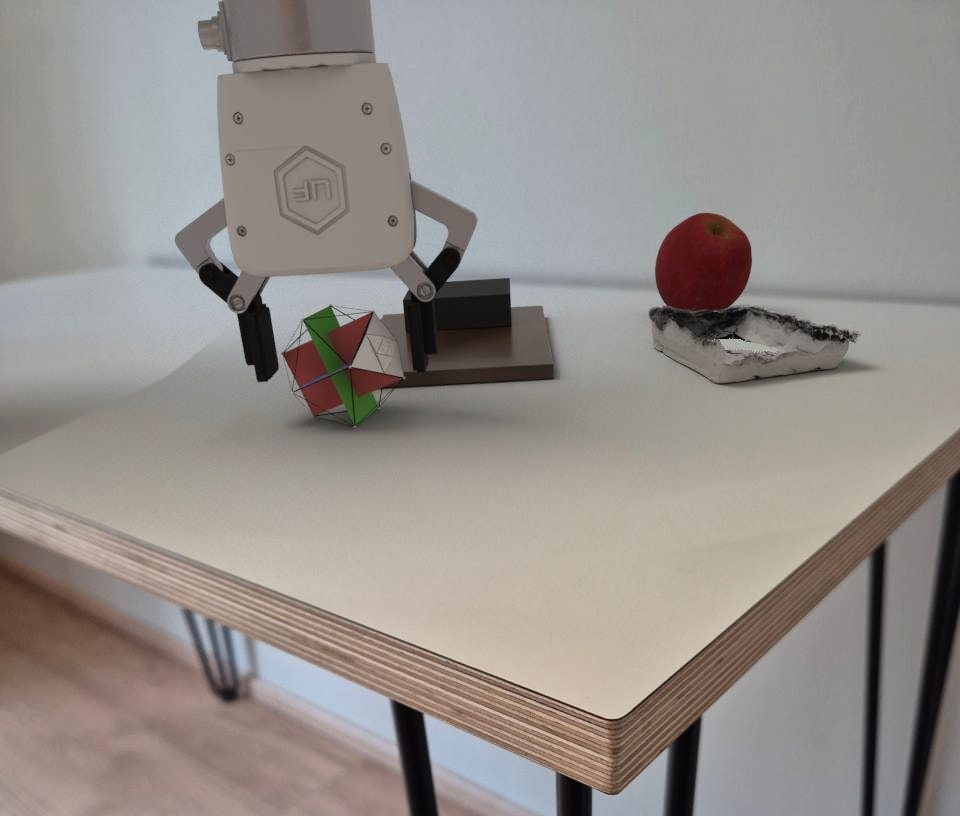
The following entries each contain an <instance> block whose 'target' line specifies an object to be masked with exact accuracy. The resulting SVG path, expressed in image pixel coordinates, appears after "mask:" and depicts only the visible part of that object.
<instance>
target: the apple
mask: <svg viewBox="0 0 960 816" xmlns="http://www.w3.org/2000/svg"><path fill="white" fill-rule="evenodd" d="M752 254H753V253H752V246H751V242H750V239H749V237H748V235H746V232H744V231H743V229H741V228H740V227H739V226H738V225H737V224H735V223H734V222H733V221H732V220H730V219H729V218H728V217H726V216H724V215H721V214H718V213H712V212H698V213H696V214H693V215H691V216H689V217H687V218H685V219H684V220H682V221H681V222H680V223H678V224H677V225H675V226H674V227H673V228H672V229H671V230H670V231H668V233H667V234H666V236H665V237H664V238H663V240H662V243H661V244H660V246H659V249H658V251H657V254H656V258H655V259H656V260H655V266H654V274H655V275H654V278H655V284H656V287H657V292H658V295H659V296H660V299H661V300H662V301H663V303H664V304H665V306H671V307H673V308H677V309H687V310H689V311H692V312H695V311H699V310H703V309H710V310H720V309H726V308H729V307H732V306H733V304H734V303H736V301H737V300H738V299H739V298H740V297H741V295H742V294H743V293H744V290H746V287H747V284H748V283H749V280H750V276H751V271H752V264H753V255H752Z"/></svg>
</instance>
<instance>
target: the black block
mask: <svg viewBox="0 0 960 816" xmlns="http://www.w3.org/2000/svg"><path fill="white" fill-rule="evenodd" d="M410 291H411V290H410V289H409V288H408V290H407V291H406V294H405V295H404V297H403V299H402V307H403V308H402V309H403V313H404V319H405V330H406V332H409V322H408V312H407V305H408V303H409V301H410V299H411V294H410ZM511 295H512V294H511V278H510V277H504V278H503V277H502V278H485V279H469V280H453V281H452V280H451V281H446V282H445V284H444V285H443V286H442V287H441V288H440V290H439V291H438V292H437V293H436V295H435V296H434V305H435V317H436V329H437V330H453V329H471V328H489V327H506V326H511V325H512V324H511V307H512V297H511Z"/></svg>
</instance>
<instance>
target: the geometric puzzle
mask: <svg viewBox="0 0 960 816" xmlns="http://www.w3.org/2000/svg"><path fill="white" fill-rule="evenodd" d="M341 308H342V309H346V307H344V306H341ZM333 309H334V310H335V311H337V312H339V313H340V314H338V315H336V314H335V312H334V310H333ZM349 309H350V310H353V308H351V307H350V308H349V307H348V310H349ZM356 311H361V309H359V308H356ZM359 314H365V315H363V316H360V317H357V318H356V319H355V318H353V317H352V315H359ZM350 315H351V316H350ZM341 316H343V317H344V316H346V317H348V318H349V319H351V320H352V321H349V322H347V323H346V324H343V325H341V324H340V322H339V320H338V318H337V317H341ZM300 320H301V321H300V323H299V324H298V326H297V328H296V330H295V331H294V333H293V335H292V336H291V338H290V340H289V342H288V344H287V345H286V347H285V349H283V352H281V353H280V354H281V356H282V358H283V359H284V360H283V361H284V363H286V364H287V365H286V364H284V366H285V367H287V366H288V368H289V370H290V372H291V374H292V376H293V382H292V386H291V381H290V376H287V377H288V382H289V387H290V390H291V392H290V393H291V395H294V396H295V398H296V399H297V400H298V401H299V402H300V403H301V404H302V405H303V406H305V404H304V403H303V402H302V401H301V400H300V399H302V400H304V401H305V402H306V404H307V406H308V408H309V411H310V414H311V415H312V417H313V418H319V419H321V416H328V415H332V416H333V417H335V418H338V419H339V420H341V421H342V422H340V421H336V420H333V419H328V418H324V417H322V419H323V420H327V421H330V422H333V423H337V424H342V425H346V426H349V427H353V428H354V429H356V428H357V427H358V426H359V425H360V424H361V423H362V422H363V421H365V420H366V419H367V418H368V417H369V416H370V415H372V414H373V413H374V412H375V411H377V410H378V409H381V406H382V405H383V404H384V402H385V401H386V400H387V399H388V398H389V396H390V395H391V394H392V393H393V392H394V391H395V390H396V388H398V387H397V386H398V385H399V384H400V383H401V381H402V380H403V379H405V377H404V374H403V368H402V363H401V358H400V352H399V347H398V341H397V340H396V339H395V338H394V336H393V335H392V334H391V333H390V331H389V330H388V329H387V328H386V326H385V325H384V324H383V323H382V321H381V318H380V317H379V316H378V315H377V314H376V311H375V310H374V309H373V310H370V311H368V310H366V309H363V311H362V312H356V313H355V312H354V313H344V312H343V311H341V310H339V309H338V306H337V305H332V304H330V303H329V305H328V306H327V307H325V308H323V309H321V310H319V311H317V312H315V313H313V314H311V315H309V316H307V317H301V318H300ZM303 324H304V326H305V328H306V329H305V330H304V331H303V332H302V329H303ZM299 327H300V331H299V336H298V337H297V338H296V339H295V340H294V341H293V342H292V343H291V344H290V342H291V341H292V339H293V338H294V336H295V334H296V332H297V330H298V329H299ZM306 332H308V334H309V337H310V338H311V340H308V341H307V342H304V343H302V344H300V343H301V337H302V336H303V335H304V334H305V333H306ZM297 341H298V346H295V347H293V348H291V347H292V346H293V345H294V344H295V343H296V342H297ZM289 344H290V345H289ZM290 348H291V349H290ZM285 370H286V371H288V369H287V368H285ZM286 374H287V375H289V373H288V372H286ZM401 379H402V380H401ZM399 380H401V381H400V382H399V383H398V384H397V385H396V386H395V387H392V389H390V391H389V392H388V393H387V394H386V395H385V396H384V397H383V398H382V394H383V389H384V388H383V387H384V386H387V385H389V384H391V383H394V382H396V381H399ZM295 382H296V384H297V386H298V388H297V389H295V390H294V386H295ZM379 389H380V394H379V401H378V402H377V400H376V398H375V396H374V394H373V392H375V391H377V390H379ZM298 391H300V392H301V394H302V396H300V395H298V394H297V393H296V392H298ZM298 397H299V398H300V399H299V398H298ZM381 402H382V403H381ZM342 405H343V406H344V408H345V409H346V410H343V411H335V412H330V411H329V410H333V409H334V408H337V407H339V406H342ZM325 412H326V413H325ZM342 413H348V415H349V418H350V419H351V421H352V423H353V424H352V423H350V422H348V421H346V420H344V419H343V418H341V417H339V416H337V415H336V414H342ZM343 422H345V423H343Z"/></svg>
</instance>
